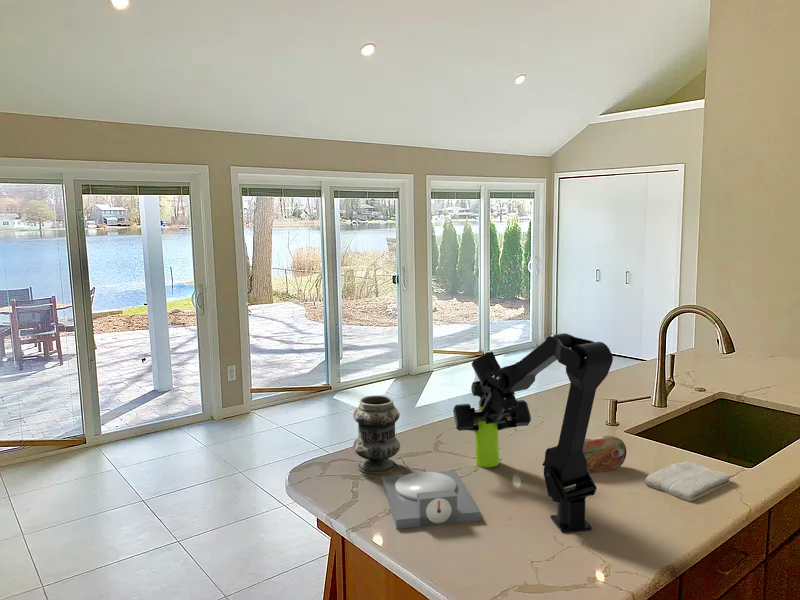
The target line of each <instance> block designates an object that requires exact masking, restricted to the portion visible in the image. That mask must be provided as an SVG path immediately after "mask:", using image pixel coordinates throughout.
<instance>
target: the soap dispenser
mask: <svg viewBox="0 0 800 600" xmlns="http://www.w3.org/2000/svg"><path fill="white" fill-rule="evenodd" d="M481 409H482V406H481V407H480V404H479V403H478V412H481ZM481 419H482V418H481ZM478 427H479V430H478V431H477V432H474V434H475V435H474V439H475V461H476V463H475V464H476V465H477V466H479V467H481V468H495V467H498V465H499V464H500V449H499V445H500V444H499V431H498V423H493V424H486V422H479V423H478Z"/></svg>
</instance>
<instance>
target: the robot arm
mask: <svg viewBox="0 0 800 600" xmlns="http://www.w3.org/2000/svg"><path fill="white" fill-rule="evenodd" d="M613 357H614V356H613V353H612V351H611V349H610V347H609V346H608V345H607V344H606V343H605V342H602V341H593V340H589V339H585V338H581V337H576V336H573V335H571V334H570V333H566V332H565V333H557V334H551V335H549V336H547V337H546V339H545V341H543V342H541V343H540V344H539V345H538V346H536V348H534V349H533V350H531V351H530V352H529V353H528V354H527V355H525V356H524V357H523V358H522V359H520V360H519V361H517V362H515V363H512V364H509V365H506V366H503V367H501V366H500V364H499V362H498V360H497V358H496V355H495V354H494V352H493V351H489V352H488V351H487V352H485V353H484V354H483V355H481V356H479V357H477V358H476V359H473V360H472V362H471V366H472V368H473V370H474V373H475V375H476V376H477V378H478V380H476V381H473V382H472V384H471V386H470V388H471V393H472V396H473V397H478V398H479V400H478V405H479V404H480V407H481V406H482V409H481V412H479V411H476V409H475V407H472V406H471V404H470V403H461V404H455V405H454V406H453V409H452V411H453V417H454V422H455V428H456V430H457V431H459V432H460V431H470V432H471V431H472V432H473V433H475V432H477V431H478V430H479V427H478V423H479V422H486V424H493V423H498V432H499V431H503V430H506V429H507V430H508V429H512V428H517V427H526V426H529V425H530V423H531V422H532V416H531V412H530V408H529V405H528V402H526V401H525V400H524V399H522V400H520V399H519V400H517V398H516V396H515V395H516V394H515V393H516V392H521V391H526V390H528V389H529V388H530V387H532V385H533V384H534V382H535V381H536V377H537V375H538V374H539V373H541V372H542V371H544V370H545V369H546V368H548V367H549V366H550V365H552V364H553V363H554V362H556V361H558V363H559V364H561V365H563V366H565V373H566V375H567V377H568V380H569V382H570V385H569V390H568V396H567V399H566V405H565V409H564V415H563V420H562V425H561V429H560V434H559V437H558V438H559V439H558V442H557V445H556V446H552V447H549V448H546V450H545V454H544V460H543V462H542V466H543V477H544V482H545V487H546V490H547V495H548V497H550V498H551V499H552V502H554V503H556V514H553V515H550V519H551V521H552V522H553V523H554V524H555V525H556V526H557V528H558V529H559V531H560V532H562V533H570V532H578V531H588V530H589V531H590V530H593V526H592V525H591V524H590V523H589V522H588V521H587V520H586V503H587V502H586V498H587V497H591V496H594V495H595V494H596V491H597V488H598V487H597V485H596V483H595V481H594V480H593V478H592V477H591V475H590V474H589V473H588V471H587V459H586V457H585V455H584V452H583V446H584V441H585V439H586V436H587V432H588V428H589V422H590V417H591V414H592V410H593V404H594V401H595V395H596V392H597V389H598V387H599V386H600V385H601V384H602V383H603V381H604V380H606V378H607V376H608V374H609V372H610V369H611V366H612V364H613V362H614V361H613V360H614V359H613ZM481 418H482V419H481Z"/></svg>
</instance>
